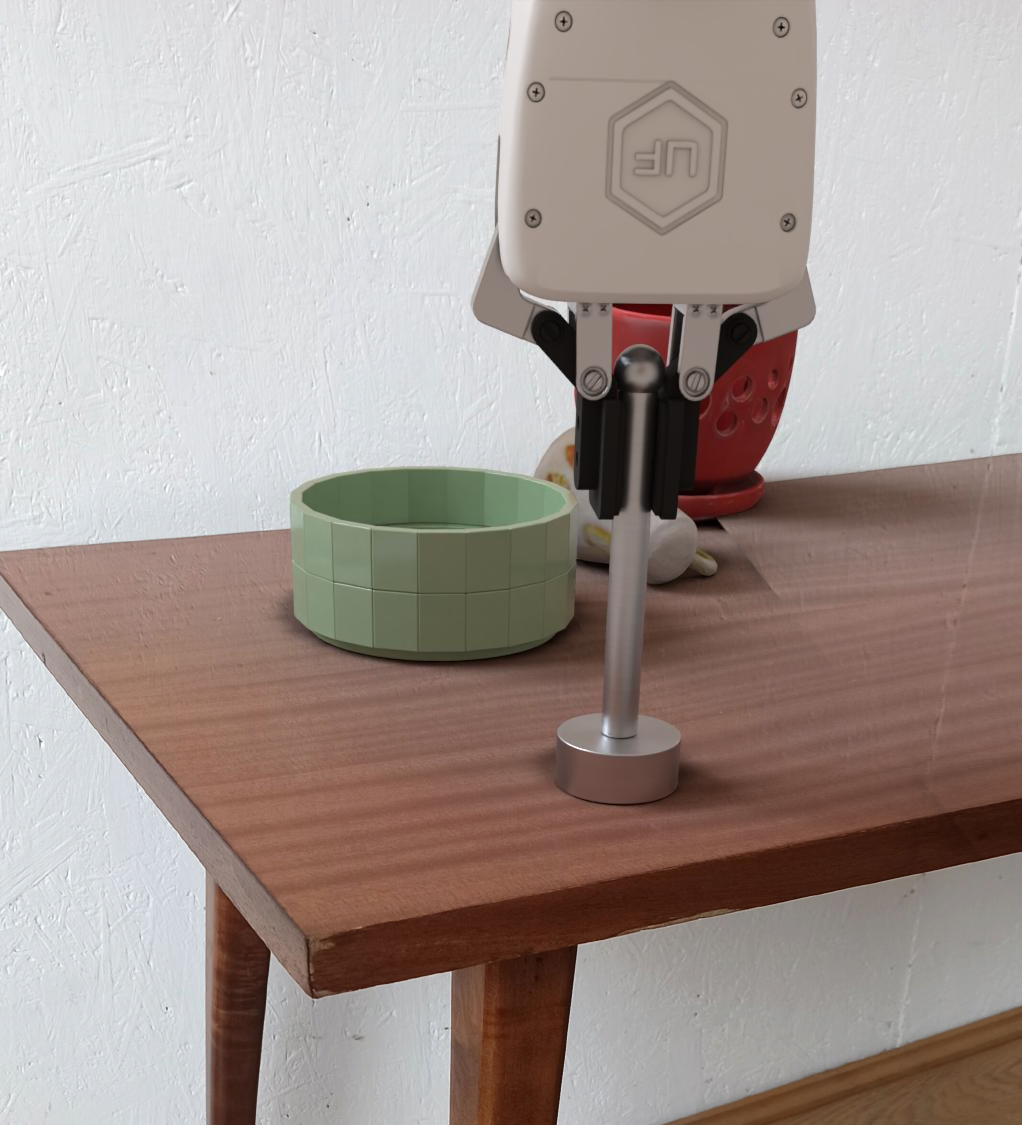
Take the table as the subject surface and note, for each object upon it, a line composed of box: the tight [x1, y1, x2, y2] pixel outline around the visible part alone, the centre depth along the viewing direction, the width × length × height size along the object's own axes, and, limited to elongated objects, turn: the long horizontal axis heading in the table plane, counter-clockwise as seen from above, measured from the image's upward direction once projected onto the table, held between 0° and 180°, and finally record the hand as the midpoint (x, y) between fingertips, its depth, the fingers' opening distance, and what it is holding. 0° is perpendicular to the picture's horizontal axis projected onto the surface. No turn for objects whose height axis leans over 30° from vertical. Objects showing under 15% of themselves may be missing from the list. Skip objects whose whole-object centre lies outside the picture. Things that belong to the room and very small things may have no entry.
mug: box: [532, 426, 718, 585], centre depth 95 cm, size 8×10×10 cm
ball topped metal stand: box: [554, 344, 682, 805], centre depth 65 cm, size 5×5×16 cm
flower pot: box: [573, 303, 799, 523], centre depth 105 cm, size 13×13×12 cm
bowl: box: [289, 465, 579, 662], centre depth 85 cm, size 14×14×6 cm
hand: (631, 507), depth 64 cm, fingers closed on ball topped metal stand, 1 cm apart
